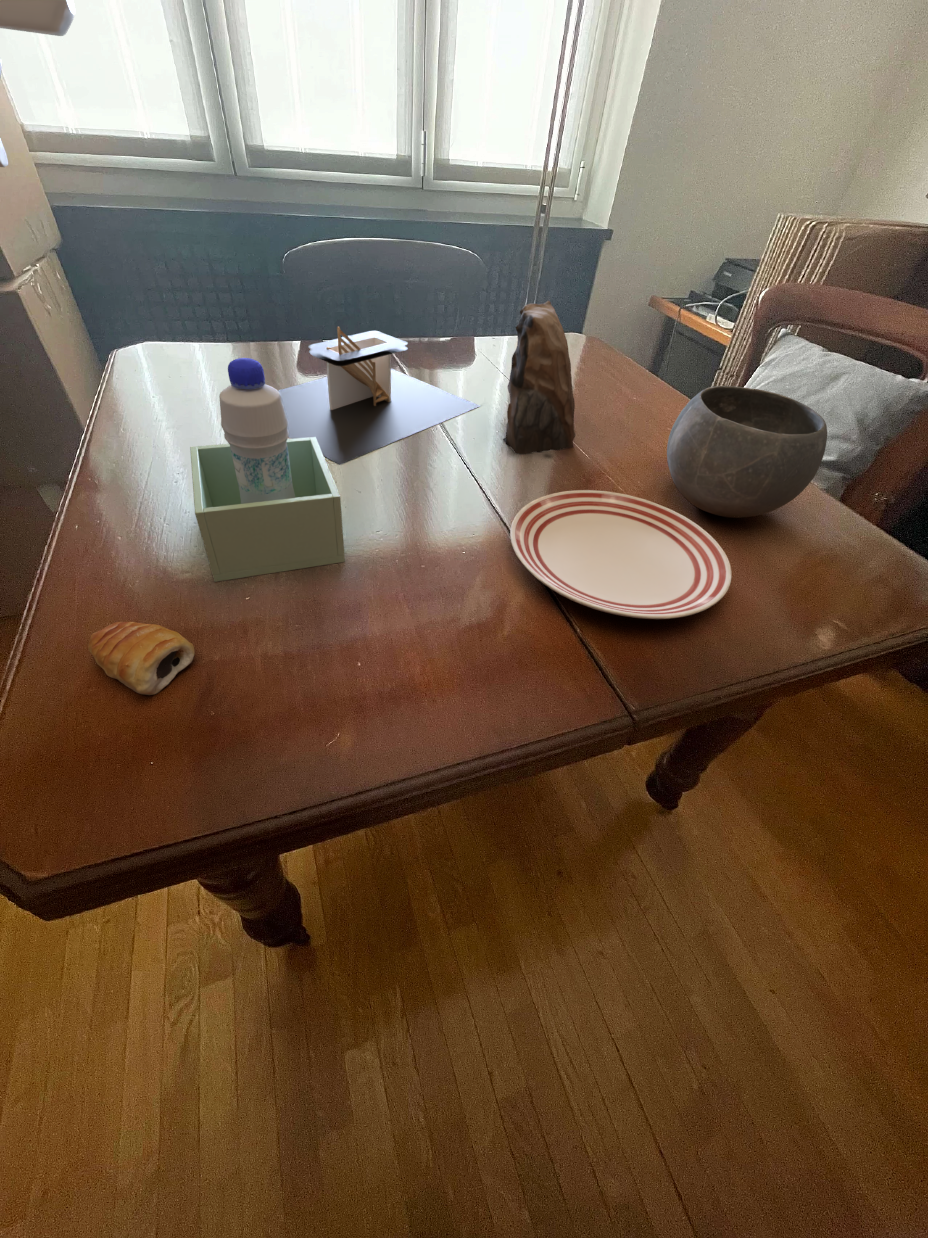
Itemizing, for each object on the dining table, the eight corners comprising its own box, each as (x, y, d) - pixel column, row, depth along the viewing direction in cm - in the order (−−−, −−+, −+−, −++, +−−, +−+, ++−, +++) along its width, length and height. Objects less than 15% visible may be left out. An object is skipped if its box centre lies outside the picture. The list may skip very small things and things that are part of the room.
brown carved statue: (512, 457, 89) (534, 323, 75) (478, 424, 97) (492, 298, 83) (576, 448, 94) (607, 320, 80) (538, 417, 102) (560, 296, 88)
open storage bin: (214, 582, 61) (194, 513, 55) (207, 512, 70) (189, 446, 64) (345, 561, 65) (340, 496, 59) (321, 498, 75) (315, 436, 69)
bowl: (774, 486, 90) (824, 395, 80) (795, 555, 76) (859, 455, 65) (651, 460, 93) (684, 369, 83) (648, 522, 78) (687, 421, 68)
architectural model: (339, 464, 82) (332, 366, 72) (229, 404, 94) (210, 312, 84) (481, 405, 103) (490, 324, 94) (376, 362, 115) (375, 285, 105)
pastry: (73, 666, 51) (56, 637, 48) (133, 622, 55) (121, 594, 53) (151, 704, 48) (137, 676, 46) (206, 655, 53) (197, 627, 50)
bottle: (244, 517, 68) (207, 348, 55) (299, 512, 70) (277, 348, 57) (245, 548, 64) (206, 372, 50) (304, 542, 66) (281, 371, 52)
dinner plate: (475, 517, 75) (478, 496, 73) (640, 496, 84) (647, 476, 81) (571, 660, 57) (578, 638, 55) (768, 614, 66) (782, 593, 63)
